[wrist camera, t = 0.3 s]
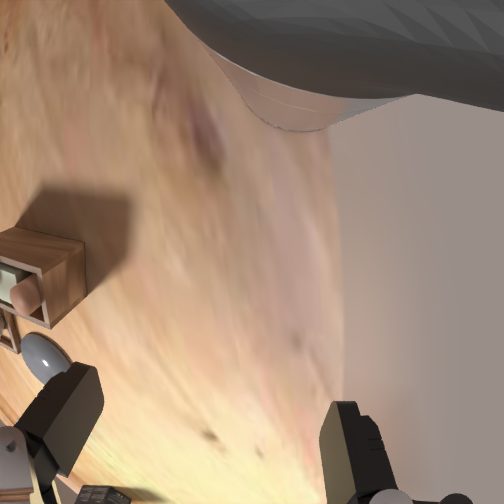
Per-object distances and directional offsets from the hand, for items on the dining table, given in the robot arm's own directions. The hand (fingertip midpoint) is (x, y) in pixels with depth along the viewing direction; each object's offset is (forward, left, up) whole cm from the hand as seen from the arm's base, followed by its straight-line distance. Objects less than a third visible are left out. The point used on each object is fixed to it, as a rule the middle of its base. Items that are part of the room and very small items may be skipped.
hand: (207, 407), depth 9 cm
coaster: (+22, -25, -18) cm, 38 cm away
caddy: (+6, -22, -18) cm, 29 cm away
